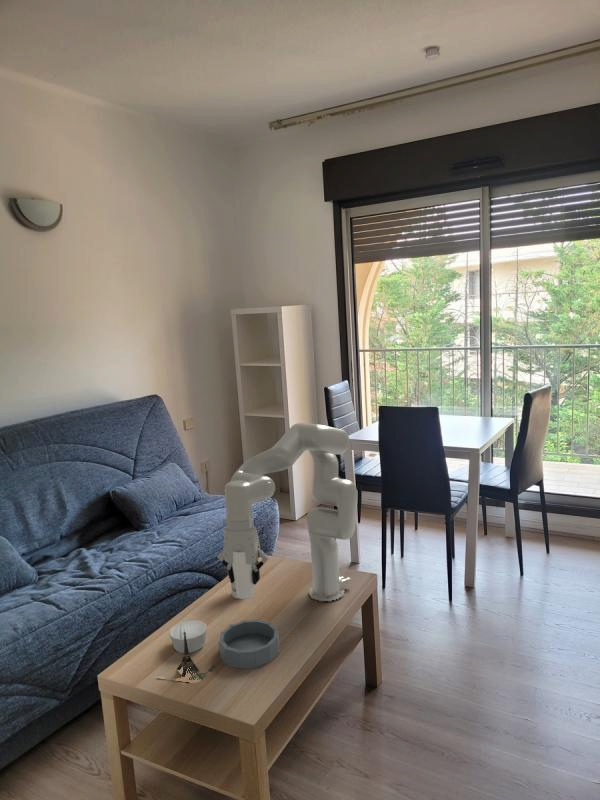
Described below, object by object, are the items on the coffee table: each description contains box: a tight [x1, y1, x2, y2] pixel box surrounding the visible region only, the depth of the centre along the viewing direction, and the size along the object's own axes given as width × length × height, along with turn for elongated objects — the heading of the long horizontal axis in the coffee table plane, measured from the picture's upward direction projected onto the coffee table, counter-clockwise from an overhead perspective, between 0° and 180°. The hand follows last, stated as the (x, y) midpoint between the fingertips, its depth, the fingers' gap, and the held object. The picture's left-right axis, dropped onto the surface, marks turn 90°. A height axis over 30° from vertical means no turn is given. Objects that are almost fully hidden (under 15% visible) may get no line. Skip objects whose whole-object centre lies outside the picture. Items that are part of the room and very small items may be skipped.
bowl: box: [218, 619, 280, 670], centre depth 173 cm, size 17×17×5 cm
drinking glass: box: [232, 551, 255, 600], centre depth 170 cm, size 7×7×15 cm
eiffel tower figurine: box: [176, 630, 218, 681], centre depth 165 cm, size 15×10×13 cm
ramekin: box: [169, 619, 208, 654], centre depth 178 cm, size 11×11×5 cm
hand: (244, 581), depth 171 cm, fingers closed on drinking glass, 6 cm apart
